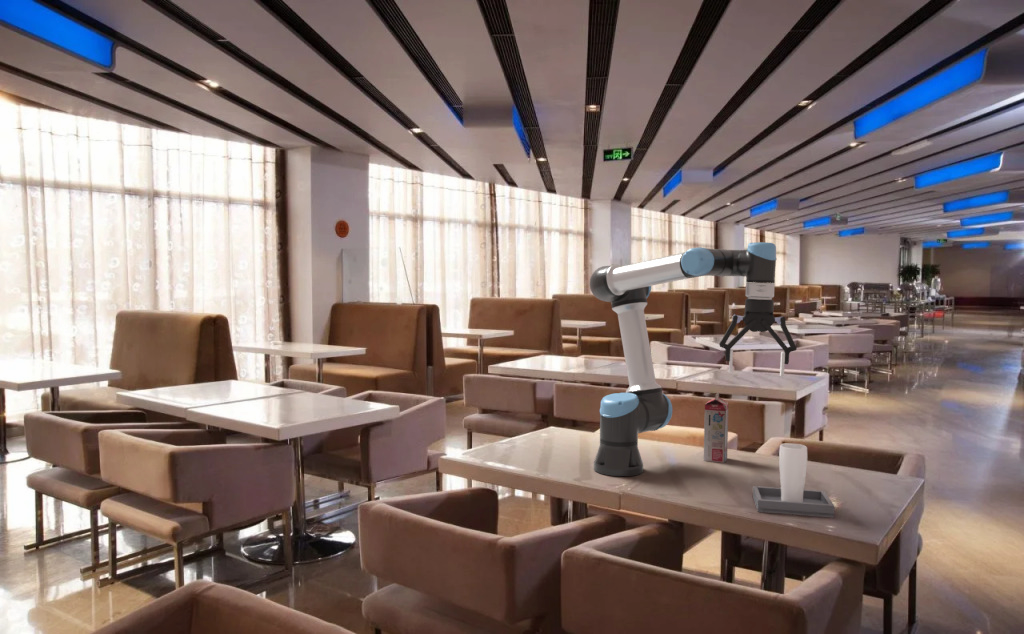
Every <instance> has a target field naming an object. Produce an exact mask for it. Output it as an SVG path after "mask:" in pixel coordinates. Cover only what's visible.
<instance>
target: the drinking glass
mask: <svg viewBox="0 0 1024 634" xmlns="http://www.w3.org/2000/svg"><path fill="white" fill-rule="evenodd" d="M778 453H779V454H778V463H779V464H778V465H779V466H778V468H779V479H780V480H779V481H780V488H781V501H791V502H803V493H804V490H805V483H806V477H807V476H806V474H807V466H808V447H807V446H806V445H804V444H800V443H791V442H790V443H789V442H788V443H781V444H779V452H778Z"/></svg>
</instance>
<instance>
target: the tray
mask: <svg viewBox="0 0 1024 634" xmlns="http://www.w3.org/2000/svg"><path fill="white" fill-rule="evenodd" d="M752 498H753V502H754V504H755V507H756V508H755V509H756V510H757V512H758V513H767V514H768V513H770V514H783V515H792V514H793V515H796V516H805V515H806V516H807V515H808V516H807V517H818V518H819V517H821V518H832V519H833V518H835V505H834V503H833V502H832V500H831V499H830V497H829V496H828V494H827V493H826V492H825V490H814V489H804V493H803V502H791V501H781V487H772V486H762V485H761V486H759V485H758V486H757V485H753V486H752Z"/></svg>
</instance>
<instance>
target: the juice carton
mask: <svg viewBox="0 0 1024 634" xmlns="http://www.w3.org/2000/svg"><path fill="white" fill-rule="evenodd" d="M703 423H704V426H703V427H704V428H703V429H704V431H703V433H704V435H703V436H704V437H703V461H704V462H713V463H722V464H723V463H726V462H727V460H728V447H729V446H728V444H729V443H728V442H729V441H728V439H729V435H728V434H729V401H727V400H725V399H724V398H721V397H720V392H719V391H718V392H716V394H715V395H714V398H712V399H710V400H707V402H706V403H705V404H704V422H703Z"/></svg>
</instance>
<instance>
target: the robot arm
mask: <svg viewBox="0 0 1024 634" xmlns="http://www.w3.org/2000/svg"><path fill="white" fill-rule="evenodd" d="M776 265H777V246H776V244H775V243H773V242H762V241H761V242H758V241H757V242H755V241H754V242H749V243H748V244H747V248H746V249H721V248H719V249H718V248H706V247H691V248H688V249H687V250H686V251H685V252H680V253H677V254H671V255H666V256H662V257H657V258H654V259H649V260H644V261H641V262H635V263H631V264H626V265H623V266H622V265H619V264H612V265H604V266H600V267H598V268H597V269H595V270H594V271H593V272H592V274H591V276H590V277H589V278H590V279H589V289H590V292H591V293H592V295H593V296H594V297H595V298H596V299H598V300H600V301H602V302H607V303H610V305H611V310H612V311H613V312H614V313H616V314H617V319H618V325H619V331H620V336H621V337H620V338H621V343H622V349H623V355H624V362H625V366H626V373H627V379H628V380H627V381H628V385H629V386H628V387H627V389H626V390H625V392H619V393H618V392H617V393H615V392H613V393H610V394H607V395H604V396H603V397H602V399H601V400H600V408H599V446H598V449H597V452H596V455H595V457H594V461H593V470H594V471H595V472H596V473H598V474H602V475H605V476H612V477H633V476H637V475H640V474H642V473H643V472H644V462H643V459H642V457H641V453H640V449H639V444H638V443H639V441H638V440H639V439H638V438H639V434H641V433H646V432H652V431H654V432H655V431H658V430H659V429H662V428H664V427H666V426H667V425H668V424H669V422H670V421H671V419H672V416H673V404H672V402H671V399H670V398H668V395H666V394H665V393H663V387H662V386H661V385H660V384H659V383H657V381H656V376H655V370H654V363H653V358H652V357H653V356H652V352H651V345H650V339H649V333H648V328H647V322H646V316H645V308H646V306H647V305H648V300H647V299H648V297H649V296H650V293H651V292H652V286H656V285H657V286H658V285H662V284H667V283H673V282H677V281H681V280H683V281H684V280H688V279H693V278H694V279H695V278H699V277H705V276H706V277H707V276H709V277H710V276H712V277H713V276H714V277H746V278H745V279H746V281H745V295H744V296H745V297H746V299H745V301H744V313H743V315H737V314H733V315H732V319H731V322H730V325H728V328H727V330H726V332H725V333H724V335H723V336H722V339H721V340H720V342H719V344H718V345H719V347H720V348H723V349H725V357H724V359H725V361H726V362H729V363H728V374H731V375H732V374H733V362H734V360H733V359H734V349H732V348H733V347H734V346H735V345H736V344H737V343H738V342H739V340H741V338H743V337H744V336H745V335H746V334H747V333H748V332H749V331H750V332H752V333H755V332H756V333H757V332H759V333H765V332H768V334H769V335H771V336H772V338H773V340H775V342H776V343H777V344H778V345H779V347H780V348H781V349H782V351H781V352H780V362H779V364H780V365H779V366H780V367H779V376H780V377H783V378H784V377H785V365H788V364H789V362H790V353H791V352H795V351H797V346H796V344H795V341H794V339H793V338H792V337H793V336H791V333H790V331H789V329H788V327H787V325H786V323H787V322H786V317H784V316H781V315H780V316H778V317H775V316H774V307H775V300H774V299H773V298H774V297H775V285H776V284H775V280H776V279H775V278H776ZM741 321H743V323H744V325H745V326H744V327H743V328H742V329H741V330H740V331H739V332H738V333H737V334H736V335H735V336H734V337H733V338H732V339H731V340H730V341H729V342H728V343H727V341H728V340H729V339H730V336H731V335H732V333H733V331H734V330H735V327H736V326H737V324H739V323H740V322H741ZM775 322H776V323H777V325H779V326H780V329H781V330H782V332H783V335H784V337H785V339H786V341H787V344H788V345H789V346H787V345H786V343H784V341H783V340H782V338H780V336H779V335H778V334H777V333H776V332H775V330H774V329H773V328H772V327H771V326H772V325H773V324H775Z"/></svg>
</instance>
